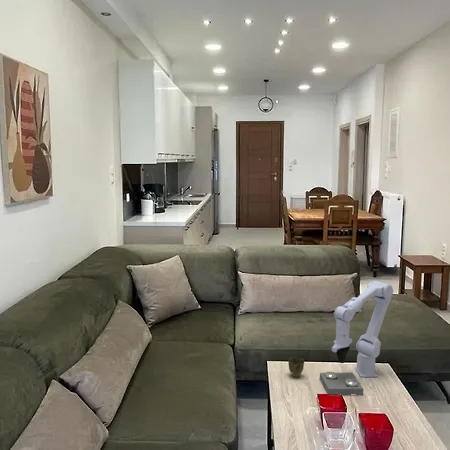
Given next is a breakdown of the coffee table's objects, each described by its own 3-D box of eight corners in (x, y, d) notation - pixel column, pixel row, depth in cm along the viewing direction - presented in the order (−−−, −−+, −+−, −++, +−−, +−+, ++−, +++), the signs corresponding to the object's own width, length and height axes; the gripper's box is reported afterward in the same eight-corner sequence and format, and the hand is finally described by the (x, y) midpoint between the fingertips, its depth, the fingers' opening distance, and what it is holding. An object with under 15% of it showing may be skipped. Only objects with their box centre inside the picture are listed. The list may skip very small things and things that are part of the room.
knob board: (319, 378, 215) (320, 372, 215) (352, 378, 216) (352, 372, 215) (328, 395, 200) (328, 388, 200) (362, 395, 201) (363, 388, 200)
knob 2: (343, 386, 207) (343, 378, 206) (354, 386, 207) (355, 378, 207) (346, 392, 202) (347, 384, 201) (358, 392, 202) (359, 384, 201)
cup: (306, 375, 219) (307, 358, 217) (300, 381, 212) (300, 364, 211) (291, 371, 223) (292, 355, 221) (285, 377, 216) (285, 360, 215)
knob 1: (323, 379, 214) (323, 371, 213) (334, 379, 214) (335, 371, 213) (326, 384, 208) (326, 377, 208) (338, 384, 209) (338, 376, 208)
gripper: (342, 326, 216) (341, 354, 218) (326, 335, 205) (325, 364, 208) (356, 330, 211) (355, 359, 213) (340, 340, 201) (339, 369, 203)
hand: (341, 362), depth 210 cm, fingers closed
